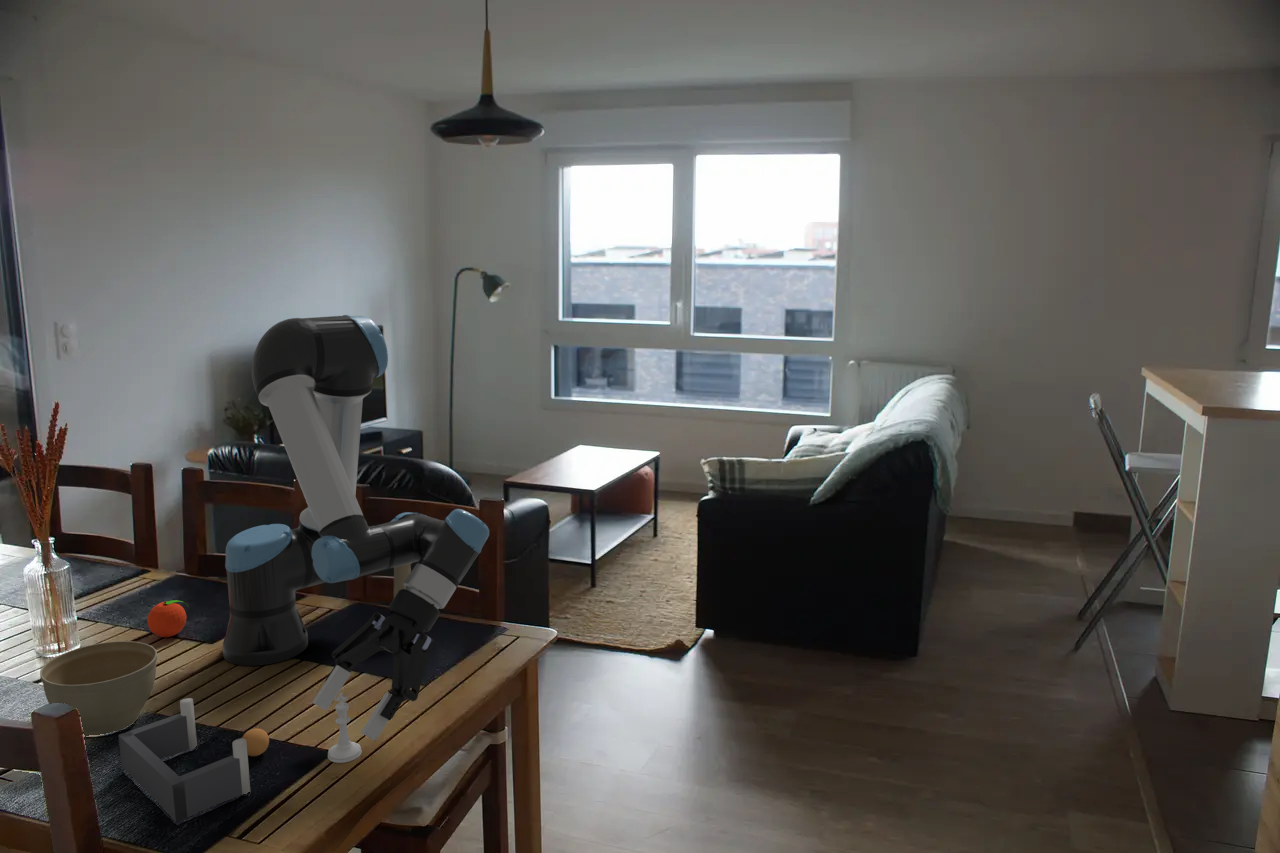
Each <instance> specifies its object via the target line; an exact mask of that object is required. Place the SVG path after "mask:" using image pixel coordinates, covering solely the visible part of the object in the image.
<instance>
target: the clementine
mask: <svg viewBox="0 0 1280 853" xmlns="http://www.w3.org/2000/svg"><path fill="white" fill-rule="evenodd" d="M178 602H179V603H178ZM180 603H184V604H186V606H187V607H189V605H188V603H186V602H184V601H181V600H177V599H176V600H175V599H174V600H173V599H172V600H168V601H163V602H159V603H158V604H156V605H155V606H154V607H151V610H150V611H149V613H148V615H147V619H146V620H147V621H146V622H147V626H148V629H149V631H150V632H151V633H153V634H154V635H155V636H157V637H161V638H169V637H173V636H175V635H178V634H179V633H180V632H182V630H183V629H184V627H185V625H186V623H187V618H188V616H187V613H186V610H185V608H184V607H183V606H182V605H181V604H180Z"/></svg>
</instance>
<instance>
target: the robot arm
mask: <svg viewBox="0 0 1280 853" xmlns="http://www.w3.org/2000/svg"><path fill="white" fill-rule="evenodd" d="M387 347H388V346H387V343H386V340H385V337H384V335H383V333H382V331H381V329H380V327H379V326H378V325H377V323H375V322H374V321H373V320H372V319H371V318H369V317H367V316H364V315H350V314H344V315H334V316H331V315H330V316H320V317H319V316H318V317H316V316H315V317H305V318H303V317H302V318H301V317H291V318H288V319H284V320H282V321H279V322H277V323H275V324H273V325H272V326H271V327H270V328H268V330H266V332H265V333H264V334H263V335H262V336H261V337H260V339H259V341H258V344H256V347H255V350H254V353H253V357H252V362H251V363H252V364H251V365H252V366H251V377H252V383H253V387H254V391H255V393H256V396H257V398H258V401H259V403H260V404H261V405H263V406H265V407H268V409H269V411H270V414H271V417H272V419H273V422H274V425H275V426H276V429H277V432H278V434H279V437H280V439H281V442H282V443H283V447H284V449H285V451H286V453H287V454H286V455H287V456H288V459H289V461H290V465H291V467H292V469H293V473H294V474H295V476H296V480H297V481H298V484H299V487H300V489H301V491H302V495H303V497H304V499H305V503H306V504H307V507H306V508H305V509H303V510H302V511H301V512H300V515H299V520H298V522H299V523H298V527H296V528H293V529H291V528H290V527H289V526H288V525H286V524H282V523H271V524H270V523H269V524H262V525H258V526H253V527H250V528H247V529H245V530H243V531H240V532H239V533H236V534H235V535H234V536H233V537H231V538H230V539H229V540H228V542H227V544H226V546H225V562H224V567H225V569H226V570H225V571H226V579H227V580H226V581H227V589H228V601H229V602H228V603H229V618H228V619H229V621H228V623H227V629H226V634H225V637H224V638H223V642H222V653H223V658H224V660H225V661H226V662H228V663H231V664H233V665H237V666H249V667H250V666H251V667H255V666H265V665H271V664H277V663H280V662H284V661H287V660H290V659H291V658H294V657H296V656H298V655H299V654H301V653H303V652H304V651H305V650H306V649H307V647H308V646H309V635H308V630H307V628H306V626H305V624H304V622H303V620H302V616H301V615H300V612H299V610H298V608H297V601H296V591H298V590H302V589H305V588H309V587H313V586H316V585H320V584H324V583H328V584H335V583H340V582H344V581H353V580H356V579H358V578H361V577H364V576H367V575H371V574H373V573H376V572H377V573H378V572H380V571H386V570H390V569H394V567H398V566H402V565H405V564H409V563H412V564H413V563H416V562H417V563H416V564H415V565H414V567H413V569H411V573H410V574H409V576H408V577H407V579H406V580H405V582H404V587H405V589H401V590H399V592H398V593H397V595H396V596H395V598H394V597H393V599H392V601H391V602H390V604H389V606H388V608H389V611H390V613H389V615H388V616H387V617H385V616H383V615H382V614H381V613H380V612H379V611H375V612H374V613H372V614H371V617H370V618H369V619H368V620H367V622H365V623H364V624H363V625H362V626H360V628H359V629H357V631H355V632H354V633H352V635H350V636H349V637H348V638H347V639H346V640H345V641H344V642H342V643H341V644H340V645H339V646H338V647H337V648H335V649H334V650H333V651H332V652H331V657H332V658H334V663H335V665H334V667H332V668H331V671H330V672H329V674H328V676H327V677H326V678H325V680H324V683H323V685H322V687H321V688H320V689H319V691H318V692H317V694H316V696H315V697H314V699H313V700H312V702H311V703H312V704H314V705H316V706H317V707H318V708H321V709H323V710H324V711H328V709H329V708H330V706H331V705H332V703H333V702H334V701H335V698H336V697H338V696H337V695H339V694H340V691H341V690H342V688H343V686H344V685H345V684H346V682H347V680H348V679H349V678H350V676H351V674H352V670H353V669H352V668H354V667H355V666H357V665H359V664H360V663H362V662H364V661H365V660H367V659H368V658H370V657H372V656H374V655H375V654H376V653H379V652H385V651H387V652H388V653H392V656H393V662H392V663H393V665H392V679H391V688H390V689H388V690H387V691H388V692H387V691H386V692H385V693H384V695H383V696H382V697H381V700H379V702H378V704H377V706H376V707H375V709H374V711H373V712H372V713H371V715H370V717H369V718H368V720H367V721H366V722H365V725H364V726H363V727H362V730H361V731H360V734H362V735H363V736H366V737H367V738H369V739H370V740H373V741H375V742H376V741H377V740H378V738H379V736H380V735H381V733H382V731H383V730H384V729H385V727H386V725H387V723H388V722H389V721H391V720H393V718H394V717H395V714H396V713H397V711H398V709H400V707H401V705H402V704H403V702H406V701H411V702H416V701H417V700H418V697H419V693H420V689H421V685H422V681H423V677H424V675H425V674H424V673H425V669H426V666H427V661H428V657H429V653H430V652H431V650H432V649H433V646H434V644H435V640H434V639H433V638H431V636H428V635H427V634H426V633H424V632H427V633H428V632H429V631H430V630H431V629H432V628H433V626H434V625H435V623H436V622H437V620H438V618H439V617H440V615H441V613H440V610H441V609H444V608H445V607H446V606H447V604H448V602H449V601H450V599H451V598H452V596H453V594H454V592H455V591H456V590H457V588H458V586H459V584H460V583H461V582H462V580H463V579H464V577H465V576H466V574H467V573H468V571H469V569H470V568H471V566H472V565H473V563H474V562H475V560H476V559H477V557H478V556H479V555H480V554H481V553H482V548H484V546H485V543H486V542H487V540H488V538H489V536H490V529H489V527H488V526H487V524H486V523H485V522H483V520H481V519H480V518H479V517H476V515H475V514H472V513H470V512H469V511H466V510H464V509H461V508H455V509H454V510H452V511H451V512H450V513H449V514H448V515H447V516H445V519H444V520H441V519H439V518H434V517H431V516H427V515H425V514H424V513H419V512H410V511H409V512H408V511H407V512H406V511H405V512H402V513H399V514H397V515H396V516H395V517H393V519H392V520H391V521H388V522H385V523H382V524H376V525H371V526H369V525H368V523H367V519H366V518H365V516H364V514H363V511H362V509H361V507H360V503H359V502H358V499H357V497H356V491H357V478H358V468H359V466H358V465H359V456H360V455H359V454H360V452H359V451H360V440H361V426H362V414H363V404H364V403H363V400H364V399H365V397H367V396H368V395H369V394H371V393H372V390H373V383H374V379H375V378H379V377H381V376H382V375H383V374H384V373H385V372H386V370H387V369H388V364H389V363H388V362H389V354H388V348H387ZM439 609H440V610H439Z"/></svg>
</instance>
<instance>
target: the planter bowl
mask: <svg viewBox="0 0 1280 853" xmlns="http://www.w3.org/2000/svg"><path fill="white" fill-rule="evenodd" d="M157 661H158V653H157V650H156V648H155V647H154V646H152V645H151V644H148V643H145V642H140V641H139V642H138V641H133V640H115V641H105V642H101V643H94V644H90V645H89V644H88V645H85V646H82V647H77V648H75V649H72V650H69V651H67V652H64V653H61V654H59V655H58V656H56V657H54V658H52V659H50V660H49V661H48V662H46V663H45V664H44V665H43V666H42V668H41V669H40V672H39V676H40V680H41V682H42V685H43V691H44V695H45V698H46V700H47V702H48V705H50V704H52V703H65V704H68V705H70V706H73V707H76V708H77V709H78V711H79V713H80V717H81V722H82V727H83V730H84V735H85V737H84V738H86V736H89V735H100V734H106V733H110V732H113V731H117V730H120V729H123V728H125V727H127V726H129V725H130V724H132V723H133V722H135V721H136V720H137V719H138V720H139V718H140V712H141V710H142V709H143V708H144V706H145V705H146V703H147V701H148V699H149V697H150V696H151V694H152V691H153V688H154V685H155V680H156V676H157V675H156V674H157ZM138 717H139V718H138ZM138 720H137V721H138ZM137 721H136V722H137Z"/></svg>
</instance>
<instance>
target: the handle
mask: <svg viewBox="0 0 1280 853" xmlns="http://www.w3.org/2000/svg"><path fill="white" fill-rule="evenodd" d="M412 564H413V563H409V564H405V565H402V566H398V567H394V568H393V599H394V598H395V596H396V595H397V593H398V592H399V590H401V589H405V587H404V582H405V580H406V579H407V577H408V576H409V574H410V573H411V571H412V568H411V566H412Z"/></svg>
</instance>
